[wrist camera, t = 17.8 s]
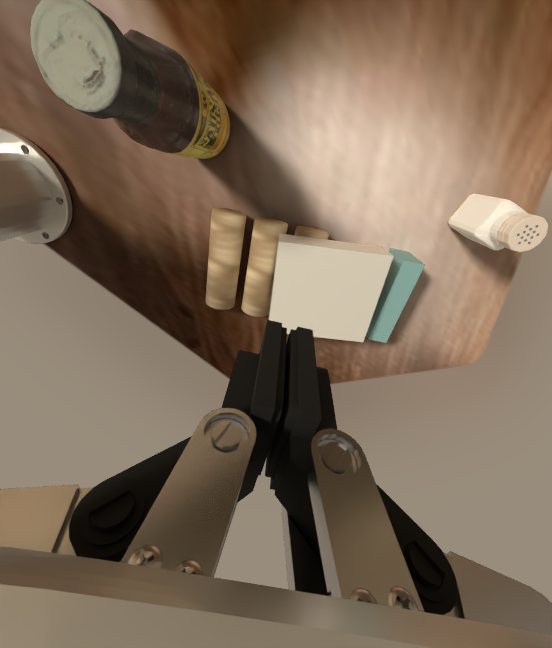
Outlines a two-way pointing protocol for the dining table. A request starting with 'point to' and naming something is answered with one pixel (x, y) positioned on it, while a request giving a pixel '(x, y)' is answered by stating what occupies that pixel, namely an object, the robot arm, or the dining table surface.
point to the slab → (327, 286)
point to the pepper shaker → (498, 224)
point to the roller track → (260, 264)
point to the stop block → (394, 294)
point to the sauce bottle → (127, 80)
